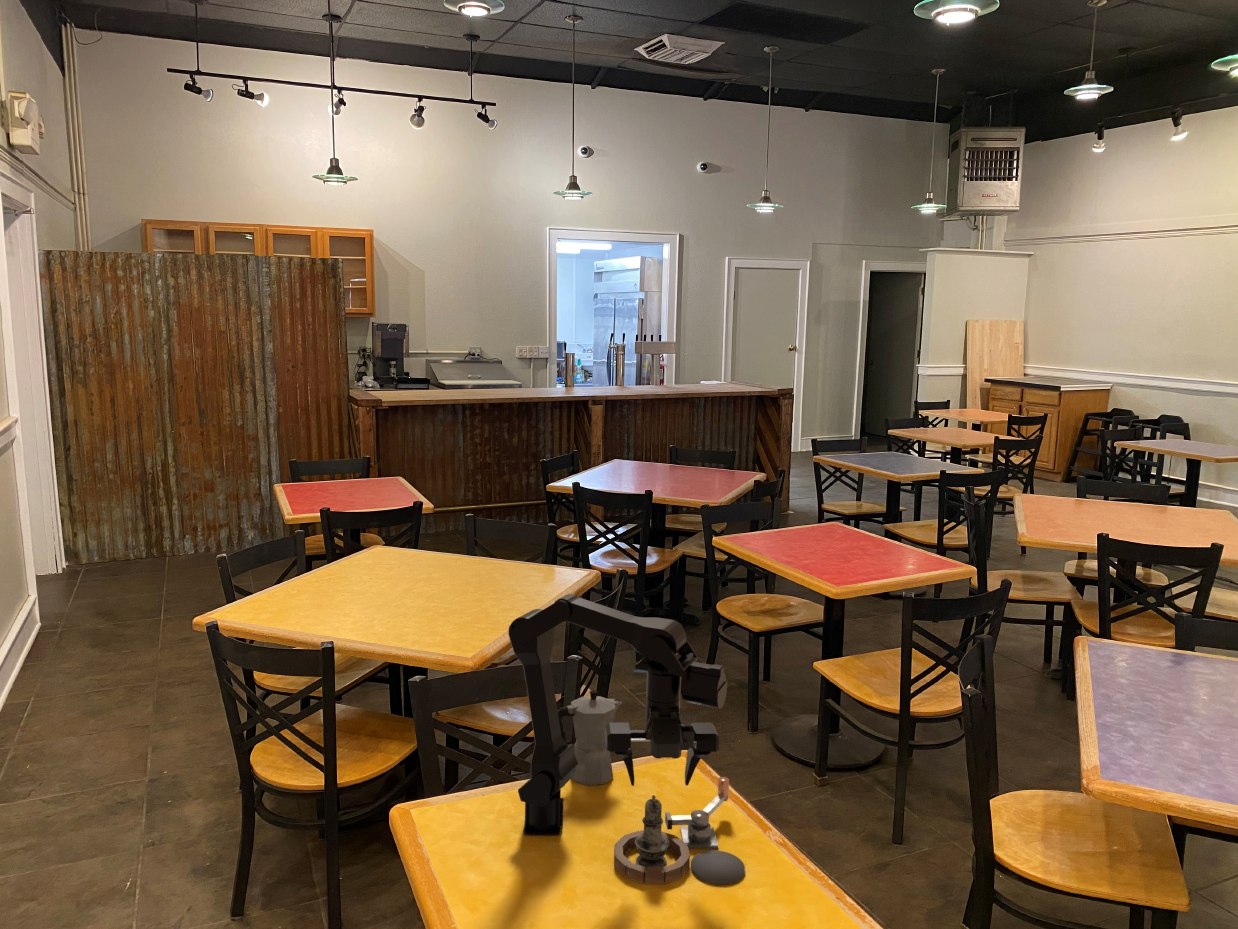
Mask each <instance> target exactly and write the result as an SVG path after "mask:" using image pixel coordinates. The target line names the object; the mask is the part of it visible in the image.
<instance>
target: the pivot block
mask: <svg viewBox="0 0 1238 929" xmlns="http://www.w3.org/2000/svg"><path fill="white" fill-rule="evenodd" d="M679 830H680V834H681V840H682V841H683V842H684V843H686V844H687V846H688V849H691V850H692V849H696V850H697V849H700V850H701V849H702V850H703V849H704V850H705V849H706V850H708V849H709V850H717V849H718V850H719V842H718V839H717V835H716V833H715V832H716V831H715V828H714V826H711V824H710V823H709V826H708V827H707V828H705V829H696V828H693V827H692V826H691V825H687V826H680V829H679Z"/></svg>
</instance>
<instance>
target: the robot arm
mask: <svg viewBox="0 0 1238 929" xmlns="http://www.w3.org/2000/svg"><path fill="white" fill-rule="evenodd" d="M564 622H568V623H570V624H574V625H576V626H579V627H582V628H583V629H584V628H585V629H587V630H589V631H594V632H596V633H598V634H602V635H605V636H607V637H610V638H614V639H617V640H619V641H622V642H624V643H626V644H628V645H630V646H631V647H632V648H633V649H634V650H635V651H636V652H637V653H638V654H640V655H642V656H643V658H641V659H640V660H639V661H638V662H637V663H636V664H635V665H634V669H635V670H640V671H641V670H642V671H646V689H645V690H646V691H645V692H646V693H645V695H646V696H645V697H646V698H645V715H644V716H645V719H644V720H645V721H644V729H631V727H630V723H629V722H613V723H611V722H609V723H608V724H607V726H606V732H605V738H606V746H607V750H608V751H610V753H612V752H613V753H614V755H615V756H619V757H621V759H622V760H623V762H624V765H625V767H626V770H627V773H628V777H629V781H630V784H631V786H635V772H634V760H633V751H632V750H633V749H632V743H650V753H651V756H652V757H653V758H655V759H662V758H664V759H665V758H666V759H667V758H668V759H669V758H672V759H679V758H680V757H681V756H682V751H687V752H686V759H685V760H686V761H685V769H684V784H685V786H687V787H688V786H689V784H690V782H691V779H692V777H693V775H694V773H695V770H696V767H697V765H698V764H699V762H700V760H701V759H702V758H704V757H707V756H710V755H711V753H713V752H714V753H716V752H718V751H719V750H720V749H719V746H720V738H719V734H718V731H717V729H716V726H715V725H714V724H713V723H712V722H691V724H690V725H685V724H682V722H681V718H680V711H681V710H680V709H681V708H680V707H681V697H682V700H683V701H685V702H687V703H689V704H694V705H699V706H700V705H701V706H705V707H710V708H716V709H722V708H723V706H724V704H725V702H726V698H727V693H728V692H727V691H728V681H727V676H726V674H725V666H724V665H723V664H722V665H721V664H708V663H703V662H697V661H698V660H699V656H698V654H697V653H696V652H695V650H694V649H693V647H692V646H691V643H690V642H689V640H688V639H687V632H686V631H685V628H684V627H683V625H682V624H681V623H680V622H679V621H677V620H675V619H669V618H663V617H654V616H653V617H644V616H643V617H642V616H635V615H632V614H630V613H626V612H624V611H621V610H618V609H614V608H611V607H608V606H606V605H603V604H600V603H596V602H593V601H590V600H587V599H585V598H582V597H579V596H578V595H576V594H574V593H568V594H565V595H563V596H561V597H560V598H558V599H557V600H554V602H553V603H552V604H550V605H548V606H547V607H545V608H544V609H541V608H535V609H532V610H530V611H527V612H526V613H524V614H523V615H521V616H519V617H516V619H514V620H512V622H511V623H510V625H509V626H508V630H507V631H508V633H507V634H508V637H509V641H510V644H511V647H512V648H511V649H512V651H513V654H514V655H515V656H516V658H517V659H518V660H519V661H520V663H521V664H522V667H523V673H524V678H525V679H524V680H525V684H526V693H527V699H528V704H529V705H528V706H529V710H530V711H529V712H530V719H531V723H532V730H533V732H532V733H533V738H534V747H533V753H532V757H531V761H530V779H528V780H527V781H526V782H525V783H524V784H523V785H521V787H519V788H518V790H517V792H518V795H519V799H520V801H521V802H523V803H524V825H523V830H522V831H523V832H522V833H523V835H527V836H530V835H534V836H536V835H537V836H538V835H539V836H548V835H549V836H555V835H556V836H560V833H561V827H563V825H564V809H565V808H564V805H565V802H564V800H565V798H564V797H561V793H562V792H561V790H562V788H564V787H565V786H566V784H567V783H569V781H570V780H572V779H571V778H572V777H573V775H574V774H575V770H576V766H577V765H578V762H577V760H576V757H575V743H571V744H569V745H567V743H566V742H565V741H564V739H563V738H562V735H561V730H560V724H559V717H558V710H559V709H558V704H557V699H556V692H555V683H554V679H553V671H552V665H551V664H552V663H551V655H552V651H553V647H554V643H555V627H557V626H558V625H560V624H562V623H564ZM678 654H679V655H680V657H679V658H678V657H677V655H678Z"/></svg>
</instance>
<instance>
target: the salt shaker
mask: <svg viewBox="0 0 1238 929" xmlns="http://www.w3.org/2000/svg"><path fill="white" fill-rule="evenodd" d="M662 807H663V806H662V802H661V801H660V800H659V799H657V796H656V795H655V794H653V795H652V796H651V798H650V799H647V800H646V801H645V804H644V817H643V818H642V820H641V821H642V824H643V830H644V832H643V834H641V835H639V836H637V838H636V839H635V845H636V846H637V847H636V850H637V852H638V856H636V859H635V864H637V865H640V866H643V867H665V866H668V865H667V864H668V860H667V858H666V857H665V855H666V854H667V851H668V849H667V848H668V847H669V840H668V839H667V838H666V837H665V836H663V835H662V834H661V831H662V825H663V824H664V819H663V818H662V810H663V808H662Z"/></svg>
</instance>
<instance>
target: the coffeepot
mask: <svg viewBox="0 0 1238 929" xmlns="http://www.w3.org/2000/svg"><path fill="white" fill-rule="evenodd" d="M570 703H571V704H569V705H566V706H562V707H560V708H558V709H557V710H558V717H559V724H560V730H561V735H562V738H563V739H564V741H565V742H566V743H567V745H569V744H573V743H572V740H566V732H565V730H564V723H563V720H562V719H563V718H564V717H572V720H573V721H572V722H573V728H574V736H575V743H574V745H575V757H576V760H577V762H578V765H577V766H576V770H575V774H574V775H573V777H572V778H571V779H570V780H572V781H573V782H574V783H577V784H579V785H585V786H600V785H603V784H606V783H608V782H610V781H611V780H612V779H613V778H614V774H613V766H612V765H611V764H612V758H611V752H610V751H608V750H607V746H606V738H605V732H606V726H607V724H608V723H609V722H611V723H614V720H615V715H616V714H615V713H616V711H617V709H619V706H620V705H621V704H622V703H623V702H622V701H621V700H620V699H618V698H606V697H603V696H599V695H598V690H596V689H591V690H589V696H581V697H578V698H577V699H574V700H572V701H570Z"/></svg>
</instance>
